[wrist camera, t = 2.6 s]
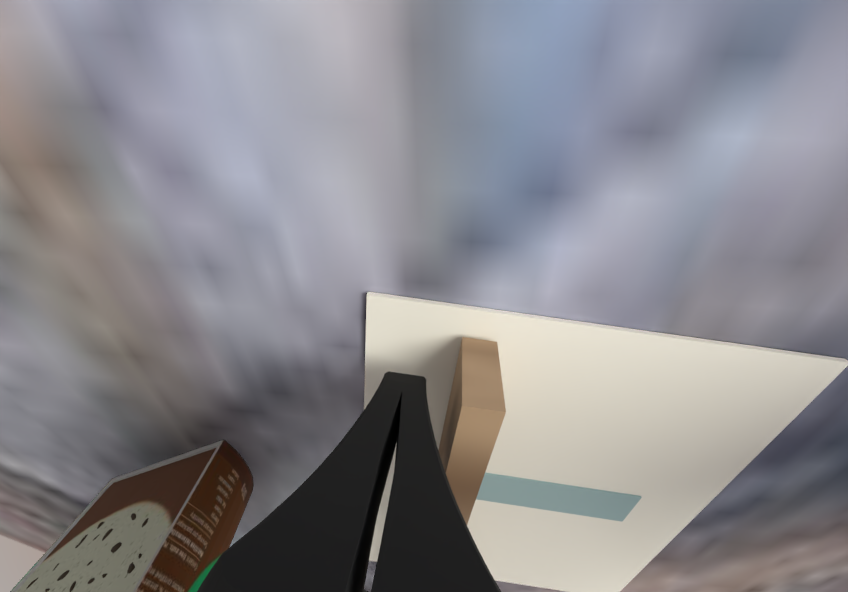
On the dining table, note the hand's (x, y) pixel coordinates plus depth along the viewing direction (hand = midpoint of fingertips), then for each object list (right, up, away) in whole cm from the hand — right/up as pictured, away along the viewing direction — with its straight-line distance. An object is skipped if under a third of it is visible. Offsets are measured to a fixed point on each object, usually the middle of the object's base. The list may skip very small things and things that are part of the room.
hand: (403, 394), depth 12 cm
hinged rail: (+2, -2, +2) cm, 4 cm away
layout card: (+6, -6, +5) cm, 10 cm away
